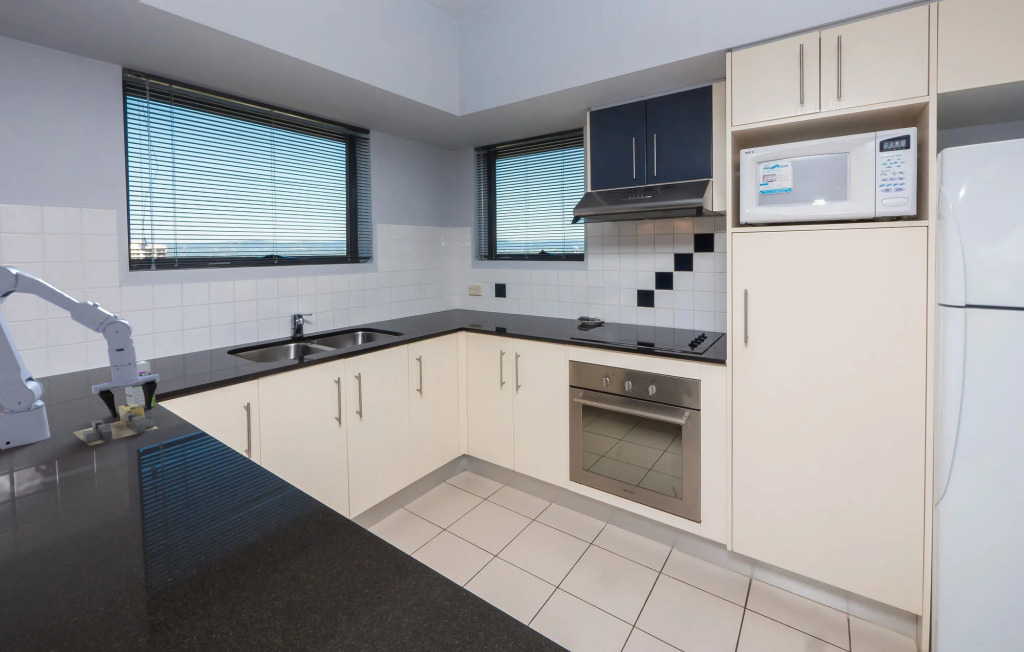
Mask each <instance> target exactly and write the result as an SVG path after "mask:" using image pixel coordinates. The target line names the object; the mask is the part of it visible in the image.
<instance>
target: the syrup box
mask: <svg viewBox="0 0 1024 652" xmlns="http://www.w3.org/2000/svg"><path fill="white" fill-rule="evenodd" d="M137 365H138V371H139V377H140V376H148V375H152V371H151V364H150V362H149V361H148V360H140V361H137ZM141 385H142V384H141ZM141 385H136V386H131V387H126V388H124V391H125V397H126V404H132V403H135V404H137V405H140V406H142V407H143V408H144V409H146V407H145V398H144V393H143V389H142V386H141ZM123 386H125V385H123ZM156 406H157V402H156V395H155V393H154V395H153V399H152V405H151V408H152V407H156Z"/></svg>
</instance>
